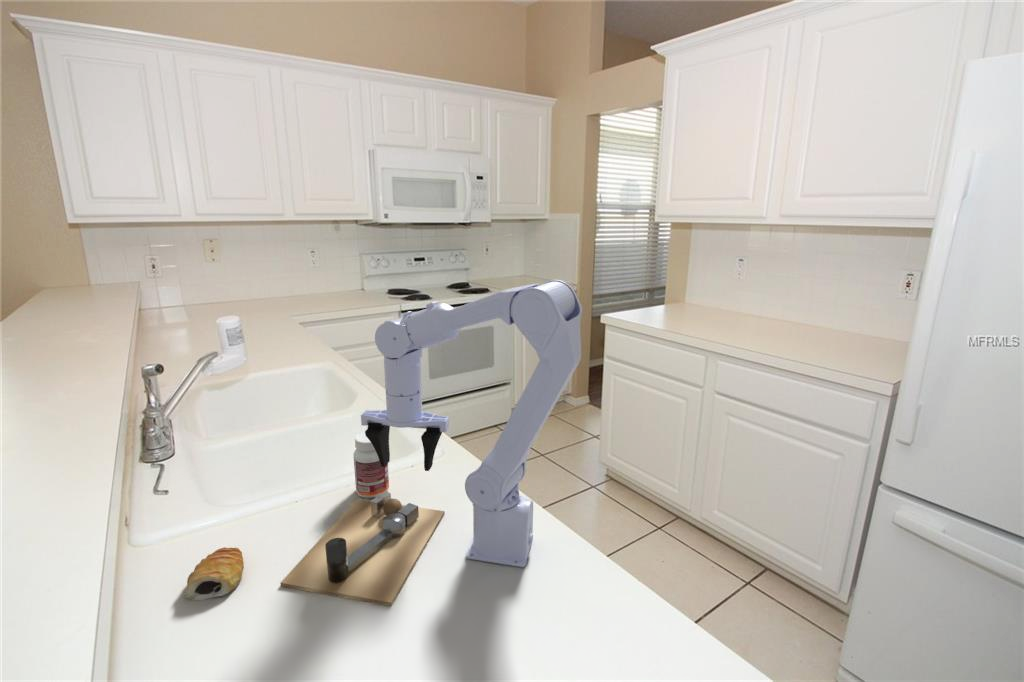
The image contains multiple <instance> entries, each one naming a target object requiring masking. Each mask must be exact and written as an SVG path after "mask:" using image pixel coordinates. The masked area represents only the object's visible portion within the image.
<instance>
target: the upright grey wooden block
mask: <svg viewBox="0 0 1024 682" xmlns="http://www.w3.org/2000/svg"><path fill="white" fill-rule="evenodd" d="M389 499H392V493H391V492H389V491H387V492H386V491H384V492H383V493H381V494H380V495H378V496H377V497H374V498H372V500H370V501H371V516H372V517H375V518H379V517H380V516H382V515H383V514H384V511H383V507H384V504H385V503H386V501H388V500H389Z"/></svg>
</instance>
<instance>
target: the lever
mask: <svg viewBox="0 0 1024 682" xmlns="http://www.w3.org/2000/svg"><path fill="white" fill-rule="evenodd" d="M418 508H419V505H416V504H413V503H411V502H408V503H407V504H406V505H404V507H403V508H402V509H400V510H399V511H398V513H392V514H389V515H387V516H385V517H384V519H383V530H382V531H381V532H379V533H378V534H377V535H375V536H374V537H373V538H371V539H370V540H369V541H368V542H366V543H365V544H364V545H362V546H361V547H360V548H358V549H357V550H356V551H354V552H353V553H352V554H350V555H349V556H348V557H347V547H346V540H345V539H343V538H334V539H331V540H329V541H328V542H327V543H326V545H325V548H326V559H327V570H328V579H329V581H331V582H341V581H343V580H345V579H346V578H347V577H348V574H349V572H351V571H352V570H353V569H354V568H356V567H357V566H358V565H359V564H361V563H362V562H363V561H364V560H366V559H367V558H368V557H369V556H371V555H372V554H373V553H374V552H375V551H377V550H378V549H379V548H380V547H382V546H383V545H384V544H385V543H387V542H388V541H389V540H390V539H392V538H397V537H400V536H402V535H403V534H404V533H405V531H406V526H409V525H410V524H411V523H412V522H414V521H415V520H416V519H417V518H419V513H418Z"/></svg>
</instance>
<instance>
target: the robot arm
mask: <svg viewBox="0 0 1024 682" xmlns="http://www.w3.org/2000/svg"><path fill="white" fill-rule="evenodd" d="M425 307H426V308H425V309H424V308H423V309H422V310H419V311H418V310H417V311H416V312H413V311H412V310H411V311H407V312H404V313H402V317H398V318H395V319H391V320H385V321H384V322H383V323H382V324H380V325H379V326H378V327H377V328H376V330H375V335H374V341H375V342H374V343H375V345H376V348H377V350H378V351H379V352H380V353H381V354H382V355H383V363H384V364H383V365H384V366H383V367H384V383H385V385H384V386H385V387H384V388H385V401H386V402H385V403H386V405H385V406H386V409H379V410H368V409H365V411H364V412H362V413H361V414H360V422H361V423H360V424H361V426H365V427H367V429H366V430H365V431H364V432H365V435H366V437H367V438H368V439H369V440H370V442H371V443H372V445H373V447H374V448H375V450H376V453H377V455H378V458H379V461H380V464H381V467H385V466H386V465H387V464H388V465H389V463H390V456H391V453H390V452H391V451H390V429H391V428H390V427H392V428H401V429H402V428H403V429H405V428H410V429H411V428H412V429H413V428H414V429H423V430H424V429H425V431H424V432H423V433H422V435H421V436H420V438H421V443H422V447H423V456H424V457H423V460H424V461H423V467H424V468H423V469H424V471H426V472H430V470H431V468H432V467H433V464H434V463H433V462H434V456H435V452H436V448H437V445H438V444H439V440H440V438H441V437H442V434H443V433H446V432H447V431H448V430H449V428H450V417H449V416H445V415H440V414H435V413H431V412H428V411H423V397H422V396H423V392H422V370H421V369H422V367H421V366H422V365H421V363H422V362H421V360H422V359H421V358H422V357H423V350H424V349H427V348H431V347H433V346H436V345H440V344H444V343H446V342H450V341H453V340H455V339H457V337H459V334H460V332H461V330H462V328H466V327H469V326H474V325H478V324H481V323H485V322H489V321H492V320H495V319H501V321H503V322H504V323H505V324H506V325H508V326H511V325H514V324H515V326H516V327H517V329H518V331H519V332H520V333H521V334H522V335H523V336H524V338H525V339H526V341H528V343H529V344H530V345H531V346H532V347H533V349H534V350H535V353H536V354H537V357H538V359H539V362H538V363H537V365H536V367H535V369H534V370H533V373H532V375H531V376H530V379H529V380H528V383H527V384H526V386H525V388H524V389H523V391H522V394H521V396H520V397H519V399H518V402H517V403H516V405H515V406H514V408H513V410H512V412H511V414H510V416H509V418H508V420H507V422H506V423H505V426H504V428H503V429H502V431H501V433H500V434H499V436H498V439H497V441H496V442H495V445H494V446H493V447H492V448H491V450H490V451H489V453H487V455H486V457H485V458H484V459H483V460H482V462H481V464H480V465H479V466H478V467H477V468H476V469H475V470H473V471H472V472H471V473H469V474H468V475H467V477H466V478H465V482H464V490H465V495H466V497H467V498H468V500H469V501H470V502H471V503H472V507H473V509H472V510H473V511H472V512H473V514H472V515H473V516H472V517H473V519H472V520H473V521H472V523H473V524H472V525H473V537H472V539H471V541H470V544H469V546H468V547H467V551H466V552H465V558H466V559H469V560H474V561H475V560H476V561H480V562H486V563H487V562H488V563H492V564H500V565H507V566H513V567H518V568H519V567H520V568H524V567H525V566H526V565H527V560H528V557H529V554H530V553H529V552H530V550H531V546H532V545H533V538H534V535H533V532H534V525H533V524H534V502H533V500H532V499H528V498H527V497H526V498H525V497H523V496H522V495H520V491H519V483H520V482H521V481H522V480H523V479H524V477H525V476H526V472H527V469H526V464H527V460H528V459H529V457H530V449H531V448H532V447H533V444H534V443H535V441H536V439H537V437H538V436H539V434H540V433H541V430H542V428H543V427H544V425H545V424H546V422H547V420H548V418H549V417H550V415H551V413H552V412H553V410H554V408H555V406H556V404H557V402H558V400H559V399H560V398H561V395H562V394H563V392H564V390H565V389H566V387H567V385H568V384H569V381H570V379H571V377H572V376H573V374H574V373H575V371H576V368H577V367H578V365H579V364H580V361H581V359H582V339H581V319H582V314H583V306H582V305H581V303H580V301H579V298H578V296H577V293H576V292H575V290H574V288H573V287H572V286H571V285H570V283H569V284H568V282H565V281H564V280H561V279H551V280H547V281H546V282H544V283H542V284H540V283H539V282H538V283H533V284H526V285H520V286H516V287H510V288H508V289H503V290H501V291H498V292H494V293H492V294H490V295H487V296H484V297H482V298H478V299H476V300H474V301H470V302H468V303H465V304H464V305H463V304H462V305H460V306H456V307H453V306H451V305H450V304H448V303H445V302H442V303H441V302H440V303H438V300H437V301H433V302H429V303H426V305H425Z"/></svg>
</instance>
